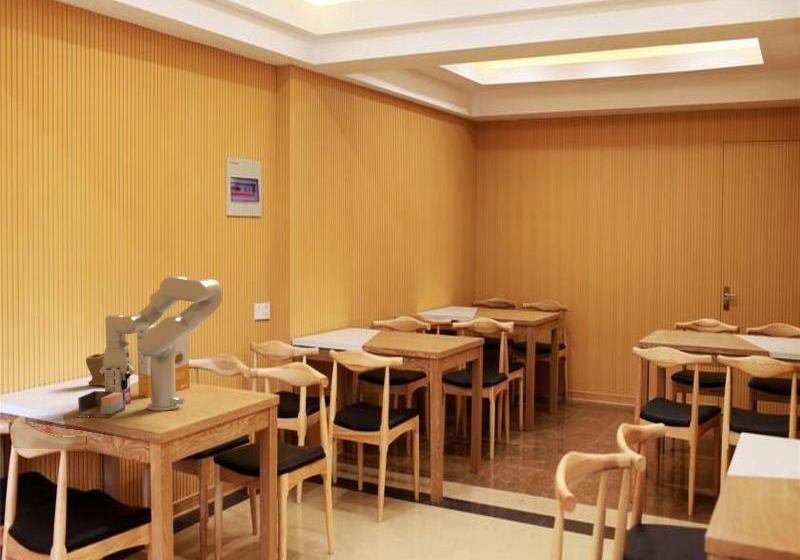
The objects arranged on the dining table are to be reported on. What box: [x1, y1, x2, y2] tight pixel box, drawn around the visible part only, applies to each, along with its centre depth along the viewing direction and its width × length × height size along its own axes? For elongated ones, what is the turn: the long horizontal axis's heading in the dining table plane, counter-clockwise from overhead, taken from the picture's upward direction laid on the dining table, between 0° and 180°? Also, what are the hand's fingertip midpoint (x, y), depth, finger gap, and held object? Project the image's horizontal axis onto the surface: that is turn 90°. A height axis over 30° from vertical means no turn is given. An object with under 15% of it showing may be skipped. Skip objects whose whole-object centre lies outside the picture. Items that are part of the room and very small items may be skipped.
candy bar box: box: [104, 368, 132, 405], centre depth 314 cm, size 11×5×16 cm, turn 168°
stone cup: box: [85, 353, 105, 387], centre depth 353 cm, size 15×12×15 cm
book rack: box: [77, 390, 126, 418], centre depth 301 cm, size 13×12×8 cm
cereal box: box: [136, 323, 190, 398], centre depth 339 cm, size 22×6×30 cm, turn 146°
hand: (117, 388), depth 314 cm, fingers closed on candy bar box, 5 cm apart
